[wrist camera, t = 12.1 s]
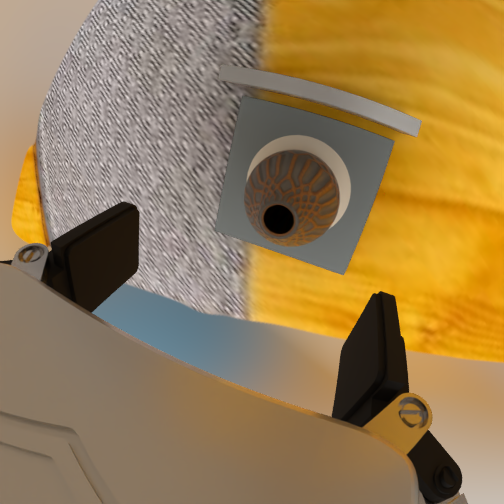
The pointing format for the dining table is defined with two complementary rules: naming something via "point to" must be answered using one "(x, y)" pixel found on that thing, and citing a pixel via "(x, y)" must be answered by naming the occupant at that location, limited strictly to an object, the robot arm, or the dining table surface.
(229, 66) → the low wall
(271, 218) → the vase
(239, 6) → the dining table surface
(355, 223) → the mat
